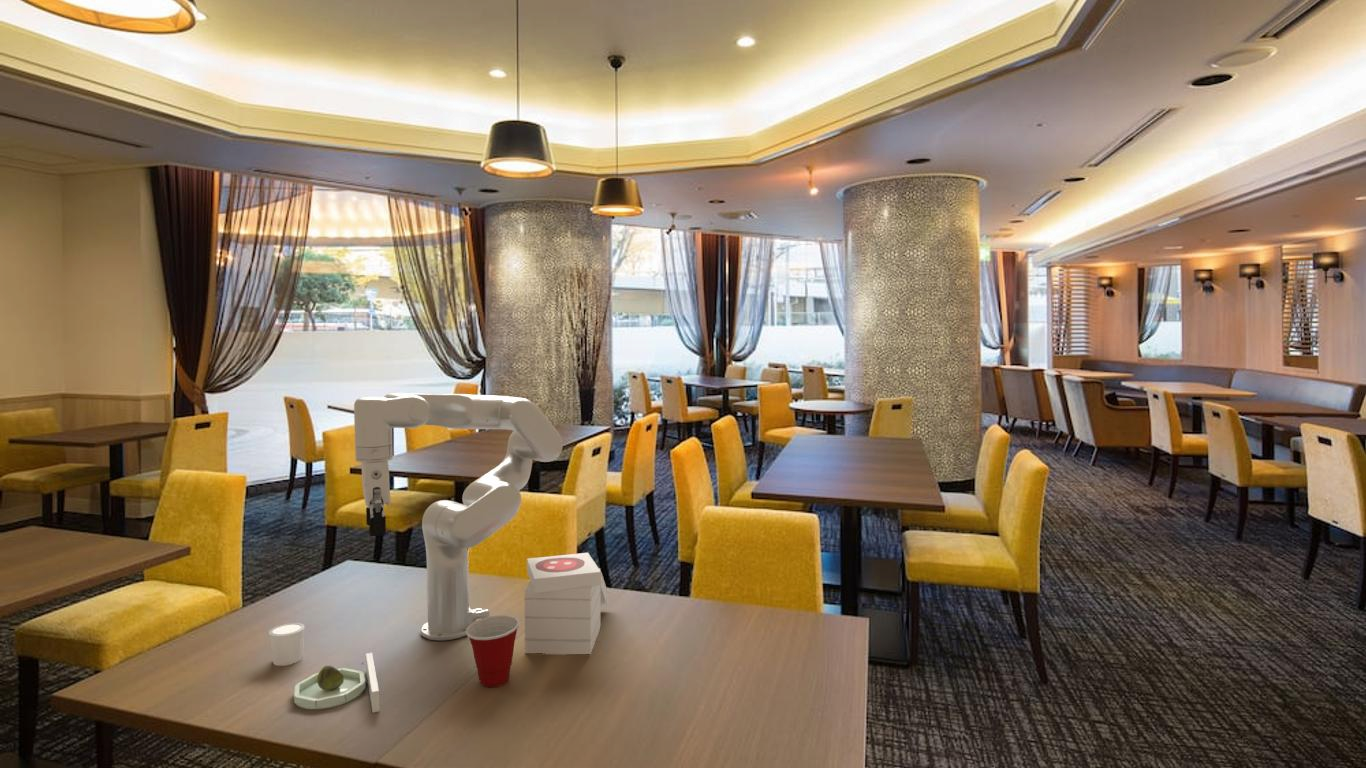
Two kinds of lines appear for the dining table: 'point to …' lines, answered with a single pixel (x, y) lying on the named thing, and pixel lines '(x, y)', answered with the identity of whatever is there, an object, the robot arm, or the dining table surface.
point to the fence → (372, 682)
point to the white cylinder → (287, 643)
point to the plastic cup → (493, 647)
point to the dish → (329, 691)
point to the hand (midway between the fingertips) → (376, 529)
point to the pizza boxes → (563, 604)
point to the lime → (329, 678)
